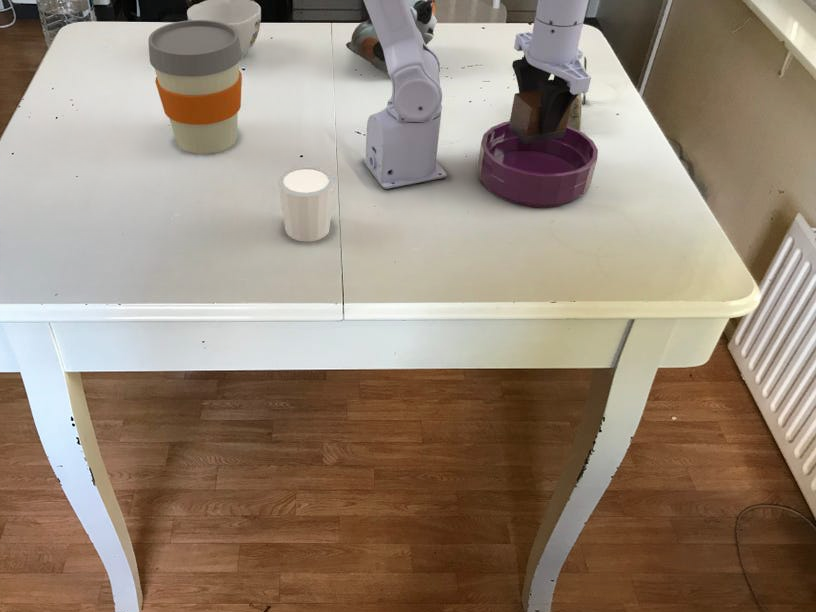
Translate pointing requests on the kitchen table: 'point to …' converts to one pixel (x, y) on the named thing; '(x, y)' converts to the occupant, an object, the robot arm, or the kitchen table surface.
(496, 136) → the bowl
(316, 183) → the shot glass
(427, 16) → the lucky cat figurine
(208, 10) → the teacup
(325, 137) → the kitchen table surface
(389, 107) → the robot arm
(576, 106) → the cuneiform tablet
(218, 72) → the reusable coffee cup
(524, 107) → the eraser
